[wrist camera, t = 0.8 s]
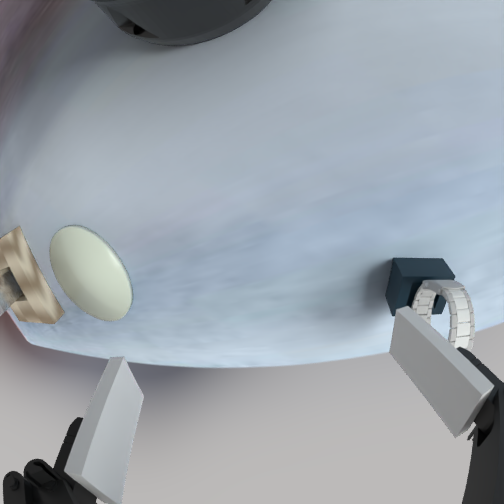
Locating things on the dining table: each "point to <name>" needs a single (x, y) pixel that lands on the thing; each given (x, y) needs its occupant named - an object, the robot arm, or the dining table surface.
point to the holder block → (28, 281)
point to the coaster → (91, 273)
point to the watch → (432, 295)
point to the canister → (8, 291)
